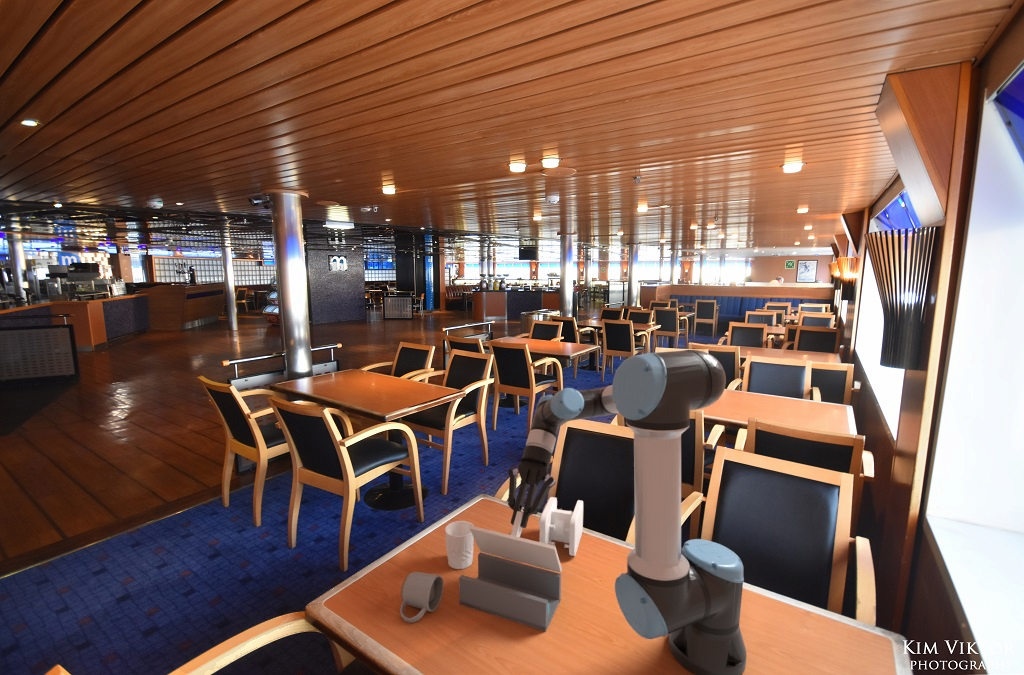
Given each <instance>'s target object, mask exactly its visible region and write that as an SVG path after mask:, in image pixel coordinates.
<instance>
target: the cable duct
mask: <svg viewBox="0 0 1024 675" xmlns="http://www.w3.org/2000/svg"><path fill="white" fill-rule="evenodd" d="M458 581H459V582H458V589H459V590H458V591H459V592H458V594H459V596H458V598H459V600H458V601H459V602H458V603H459V605H461V606H464V607H468V608H470V609H474V610H476V611H480V612H483V613H486V614H489V615H492V616H494V617H499V618H501V619H505V620H508V621H511V622H514V623H517V624H520V625H523V626H527V627H530V628H533V629H536V630H539V631H542V632H547V630H548V628H549V626H550V623H551V621H552V619H553V617H554V615H555V613H556V611H557V609H558V607H559V604H560V603H561V600H562V574H561V573H560V572H556V571H552V570H548V569H545V568H541V567H537V566H533V565H530V564H526V563H522V562H518V561H515V560H511V559H507V558H503V557H500V556H496V555H492V554H488V553H485V552H481V551H479V553H478V555H477V577H476V578H473V577H470V576H468V575H464V574H461V575H460V576H459V577H458Z"/></svg>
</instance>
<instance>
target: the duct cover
mask: <svg viewBox="0 0 1024 675" xmlns="http://www.w3.org/2000/svg"><path fill="white" fill-rule="evenodd" d="M469 529H470V531H471V533H472V535H473V537H474V542H475V543H476V546H477V548H478V549H479V552H481V553H484V554H488V555H492V556H496V557H499V558H503V559H507V560H511V561H514V562H518V563H522V564H526V565H529V566H533V567H537V568H541V569H544V570H548V571H552V572H555V573H559V574H561V573H562V571H563V567H562V565H561V561H560V558H559V555H558V554H559V553H558V551H557V548H556V545H555V546H554V545H549V544H545V543H541V542H539V541H535V540H533V539H528V538H525V537H521V536H520V537H516V536H512V535H511V534H507V533H504V532H499V531H495V530H490V529H488V528H487V529H486V528H482V527H478V526H476V525H475V526H474V525H473V526H470V528H469Z"/></svg>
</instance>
